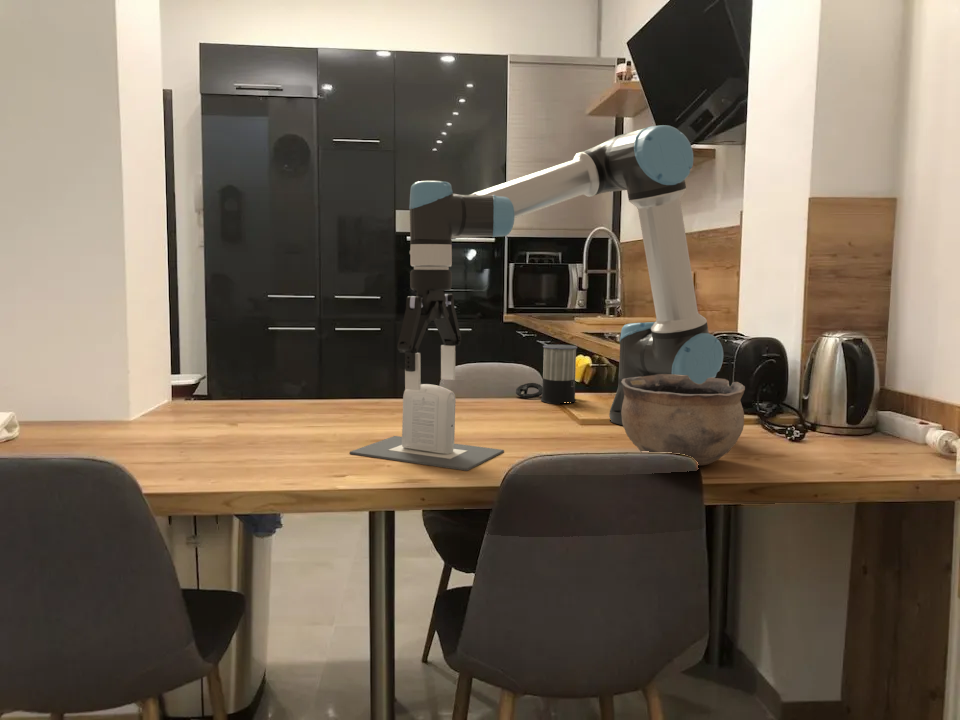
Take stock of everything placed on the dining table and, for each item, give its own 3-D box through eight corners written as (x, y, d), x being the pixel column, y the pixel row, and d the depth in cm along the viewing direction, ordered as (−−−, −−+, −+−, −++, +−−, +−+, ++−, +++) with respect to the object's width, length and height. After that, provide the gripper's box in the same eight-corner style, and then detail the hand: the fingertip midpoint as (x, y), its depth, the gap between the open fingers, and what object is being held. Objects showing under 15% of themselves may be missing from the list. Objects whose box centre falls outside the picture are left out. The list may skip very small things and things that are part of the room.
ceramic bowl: (763, 464, 143) (768, 383, 141) (704, 485, 128) (709, 395, 126) (658, 443, 159) (662, 370, 157) (594, 460, 143) (597, 379, 141)
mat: (503, 451, 148) (504, 449, 148) (467, 470, 133) (467, 467, 133) (394, 437, 158) (394, 435, 158) (349, 453, 143) (349, 451, 143)
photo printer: (457, 451, 146) (459, 385, 144) (447, 455, 142) (448, 388, 140) (409, 444, 150) (410, 380, 148) (398, 449, 146) (399, 383, 144)
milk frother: (577, 405, 202) (579, 348, 200) (516, 403, 202) (517, 346, 201) (572, 396, 216) (574, 343, 214) (515, 394, 216) (517, 341, 215)
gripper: (444, 268, 155) (444, 374, 157) (376, 268, 132) (377, 392, 135) (478, 268, 151) (478, 376, 154) (414, 269, 129) (415, 395, 132)
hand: (431, 384), depth 144 cm, fingers open, 13 cm apart
